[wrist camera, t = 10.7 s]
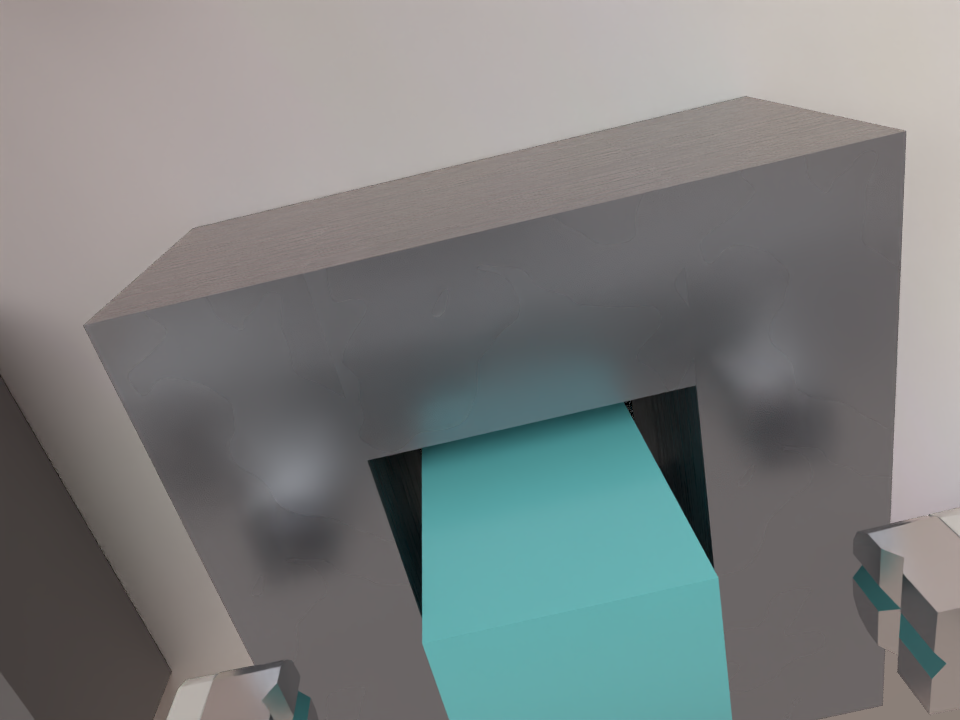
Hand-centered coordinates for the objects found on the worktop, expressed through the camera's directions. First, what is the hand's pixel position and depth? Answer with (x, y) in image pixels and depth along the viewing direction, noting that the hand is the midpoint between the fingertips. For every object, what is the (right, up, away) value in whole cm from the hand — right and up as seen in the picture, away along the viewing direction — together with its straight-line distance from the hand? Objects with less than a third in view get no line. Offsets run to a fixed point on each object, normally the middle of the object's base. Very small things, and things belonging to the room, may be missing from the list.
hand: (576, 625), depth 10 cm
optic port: (0, +3, +6) cm, 7 cm away
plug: (-1, +3, +6) cm, 7 cm away
